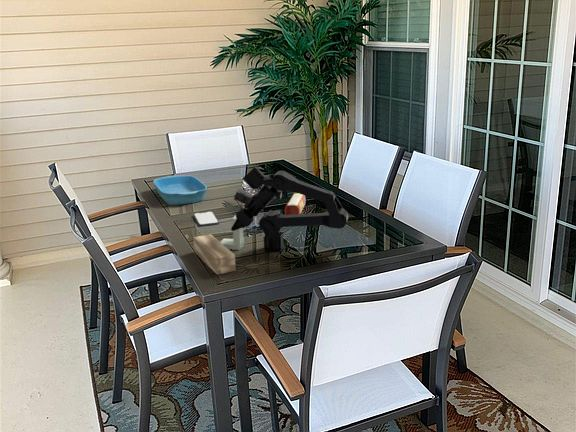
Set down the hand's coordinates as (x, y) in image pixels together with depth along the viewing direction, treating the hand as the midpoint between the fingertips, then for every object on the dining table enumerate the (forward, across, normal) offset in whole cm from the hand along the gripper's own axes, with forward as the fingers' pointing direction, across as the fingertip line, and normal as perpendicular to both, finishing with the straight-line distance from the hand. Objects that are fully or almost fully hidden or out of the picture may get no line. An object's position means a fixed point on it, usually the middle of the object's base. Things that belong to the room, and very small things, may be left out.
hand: (235, 226), depth 215 cm
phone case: (+22, -30, -9) cm, 38 cm away
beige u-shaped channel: (+9, +15, +3) cm, 17 cm away
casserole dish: (+39, -64, -27) cm, 80 cm away
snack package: (-4, -46, +16) cm, 49 cm away
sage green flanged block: (+7, 0, +5) cm, 9 cm away
